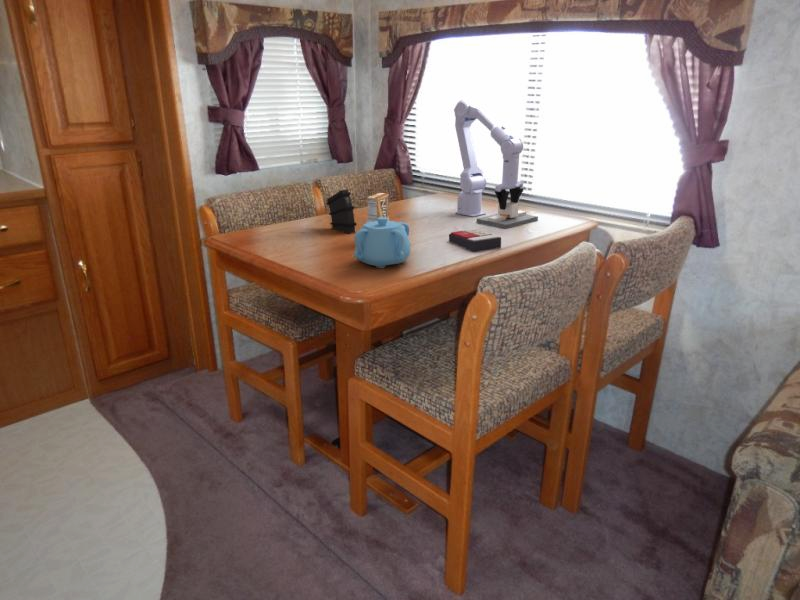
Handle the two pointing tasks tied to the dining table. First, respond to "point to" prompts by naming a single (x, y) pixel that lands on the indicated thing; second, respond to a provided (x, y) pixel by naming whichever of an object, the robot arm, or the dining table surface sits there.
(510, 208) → the block
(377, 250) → the decorative pot
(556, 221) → the dining table surface
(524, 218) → the rail board
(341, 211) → the black ribbed block
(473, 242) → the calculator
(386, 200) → the candy box
